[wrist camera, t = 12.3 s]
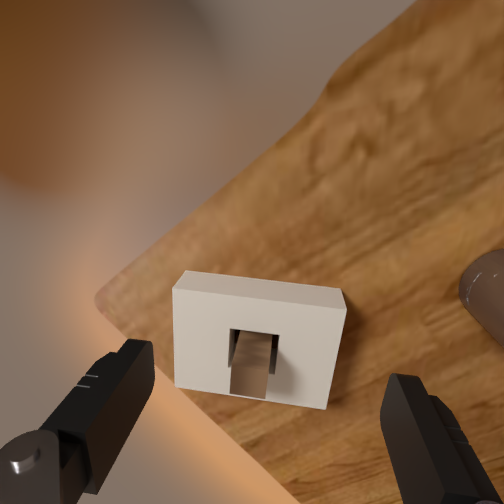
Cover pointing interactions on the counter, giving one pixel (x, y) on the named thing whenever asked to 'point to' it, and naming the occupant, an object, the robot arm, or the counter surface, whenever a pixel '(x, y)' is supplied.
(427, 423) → the robot arm
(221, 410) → the counter surface
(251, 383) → the peg
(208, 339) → the socket board
